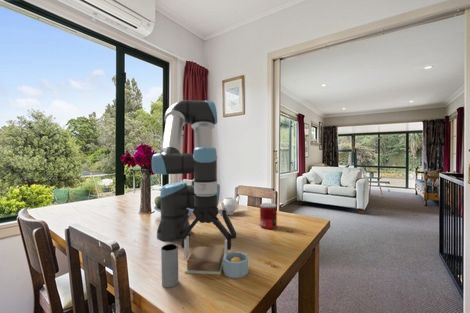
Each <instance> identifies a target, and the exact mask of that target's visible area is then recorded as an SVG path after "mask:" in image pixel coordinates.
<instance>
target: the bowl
mask: <svg viewBox="0 0 470 313" xmlns="http://www.w3.org/2000/svg"><path fill="white" fill-rule="evenodd" d="M222 270H223V274H224V276H226V277H227V278H228V279H229V278H230V279H241V278H244V277H247V275H248V274H249V254H247V253H245V252H243V251H230V252H228V253H227V254H225V253H224V258H223V268H222Z"/></svg>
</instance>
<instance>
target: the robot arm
mask: <svg viewBox="0 0 470 313" xmlns="http://www.w3.org/2000/svg"><path fill="white" fill-rule="evenodd" d="M163 120H164V124H165V126H164V130H163V134H162V136H163V137H162V140H161V146H160V150H159V152H158V153H154V154H153V155H151V156H152V157H151V171H152V173H153V174H154V175H182V174H185V175H186V174H187V175H188V174H193V177H194V178H193V179H192V180H191V184H190V185H189V184H188V183H187V181H181V182H172V183H169V184H165V185H162V186H161V188H160V192H159V195H160V196H159V198H160V199H159V200H160V201H159V202H160V203H159V204H160V221H159V224H158V227H157V230H156V238H157V239H158V240H160V241H167V242H169V241H178V240H181V241H180V242H181V243H180V244H181V245H180V246H181V249H183V254H184V256H183V257H184V259H183V260H188V258H189V257H190V242H189V241H190V236H191V234H192V230H193V228H194V227H195V226H196V224H197V223H198V222H199V223H200V224H204V223H207V224H211V223H212V225H214V226H215V227H216V228H217V229H218V230H219V232H220V233H221V234H222V235H223V237H224V238H225V239H224V255H225V254H227V253H229V251H231V249H232V240H236V238H237V236H238V234H237V231H236V229H235V228H234V226H233V223H232V221H231V219H230V217H229V215H228V214H227V209H226V208H224V209H222V208H220V209H219V208H218V207H219V203H220V194H221V193H220V192H221V191H220V190H221V185H220V184H219V183H218V178H217V177H218V176H217V175H218V167H217V166H218V165H217V164H218V155H217V154H218V153H217V148H216V147H213V137H212V136H213V135H212V134H213V133H212V132H213V129H214V128H215V125H216V124H217V123H218V111H217V106H216V104H215V102H214V101H212V100H189V99H186V100H185V99H183V100H179V101H176V102H174V103H172V104H171V106H169V107H168V108H167V109H166V111H165V113H164V118H163ZM185 124H186V125H187V124H188V125H190V128H191V129H192V130H193V132H194V136H193V137H194V149H193V153H192V152H189V153H181V152H182V139H183V129H184V128H183V127H184V126H185ZM192 214H193V215H194V217H195V218H194V219H193V221H192V222H191V223H190V221H189V218H190V216H191V215H192ZM219 214H220V216H221V217H222V219H223V221H224V223H225V225H226V227H227V228H226V227H225V226H224V224H223V223H222V222H221V221H220V218H218V217H217V216H218V215H219Z"/></svg>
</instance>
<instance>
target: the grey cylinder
mask: <svg viewBox="0 0 470 313" xmlns="http://www.w3.org/2000/svg"><path fill="white" fill-rule="evenodd" d="M160 254H161V257H160V259H161V286H162V287H164V288H174V287H175V286H177V285H178V284H179V279H180V278H179V246H178V245H177V243H167V244H164V245H162V246H161V253H160Z"/></svg>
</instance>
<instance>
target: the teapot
mask: <svg viewBox="0 0 470 313" xmlns="http://www.w3.org/2000/svg"><path fill="white" fill-rule="evenodd" d="M240 199H241V196H240V195H237V196H236V198H235V197H225V198H223V201H221V202H220V204H219V205H218V207H221V209H224V208H226V209H227V215H228V216H229V215H234V214H235V211H236V210H237V209H238V206H239V202H240Z"/></svg>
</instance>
